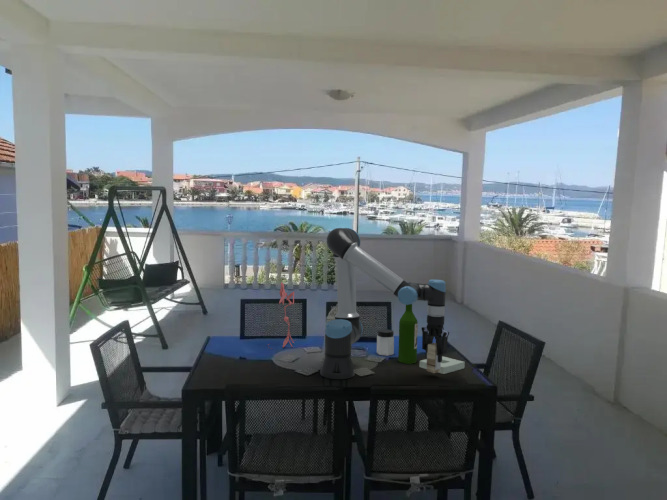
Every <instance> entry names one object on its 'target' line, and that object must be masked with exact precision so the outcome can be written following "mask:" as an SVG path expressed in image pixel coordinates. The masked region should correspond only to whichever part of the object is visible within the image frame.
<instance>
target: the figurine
mask: <svg viewBox="0 0 667 500" xmlns="http://www.w3.org/2000/svg"><path fill="white" fill-rule="evenodd" d="M279 297H280V299H279V302H278V305H281V304H282V305H283V306H284V304H285V298H286V301H288V304H287V305H285V306H284V317H283V321H284V322H286V324H287V325H288V326H291V325H290V324H291V323H290V321H289V319H290V318H289V317H288V316H286V315H287V312H286V308H287V307H288V306H290V307H291V306H292V305H295V291H292V292H291V293H289V294H288V293H287V292H286V290H285V283H283V282H282V281H281V282H280V290H279ZM291 298H292V301H291V300H290V299H291ZM287 328H288V329H287V335H286V337H285V339H284V340H283V344H282V348H285V347H286V345H287V344H288V343H289V345H290V346H291V348H292V347H293V343H294V344H295V342H294V341H296V340H293V338H292V336H291V333H290V327H287ZM289 339H290V340H289ZM291 342H292V343H291ZM269 345H270V343H269V344H267V347H268V349H271V350H272V348H270V347H269Z"/></svg>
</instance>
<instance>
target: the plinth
mask: <svg viewBox="0 0 667 500" xmlns="http://www.w3.org/2000/svg"><path fill="white" fill-rule="evenodd" d="M418 364H419V365H418V366H419V368H421V369H424V370H427V367H426V364H427V359H426V358H425V359H422V360H419V363H418ZM465 366H466V363H465V361H462V360H458V359H454V358H451V357H447V356H445V355H444V356H443V355H442V362H441V365H440V372H437V373H439V374H442V375H445V374H449V373H452V372H453V373H454V372H457V371H459V370H463V369H465V368H466V367H465Z"/></svg>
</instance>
